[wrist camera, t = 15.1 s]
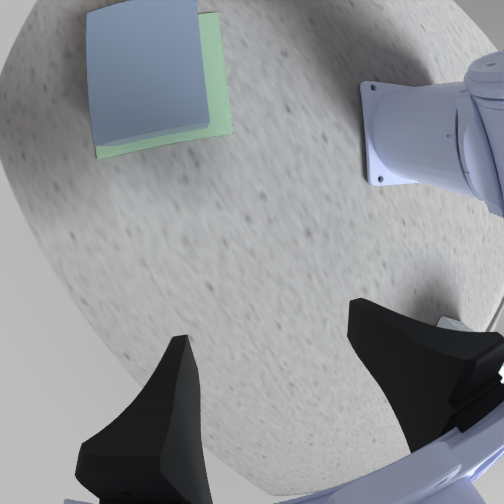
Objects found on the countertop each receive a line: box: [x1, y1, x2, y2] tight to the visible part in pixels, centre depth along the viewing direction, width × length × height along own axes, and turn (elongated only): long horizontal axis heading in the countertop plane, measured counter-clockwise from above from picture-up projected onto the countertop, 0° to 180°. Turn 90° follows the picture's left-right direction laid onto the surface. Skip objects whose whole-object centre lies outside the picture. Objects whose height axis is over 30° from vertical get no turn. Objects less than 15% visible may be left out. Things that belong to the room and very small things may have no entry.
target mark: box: [95, 12, 233, 160], centre depth 16 cm, size 9×9×1 cm
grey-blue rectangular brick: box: [86, 0, 210, 146], centre depth 13 cm, size 6×8×5 cm
